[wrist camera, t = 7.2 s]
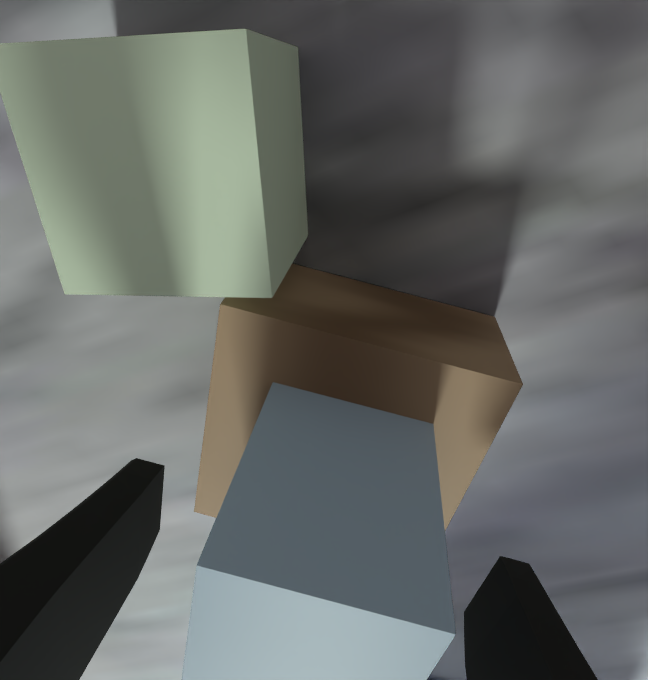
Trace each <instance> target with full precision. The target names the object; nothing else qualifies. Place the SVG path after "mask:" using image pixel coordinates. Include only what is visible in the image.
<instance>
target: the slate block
mask: <svg viewBox="0 0 648 680" xmlns="http://www.w3.org/2000/svg"><path fill="white" fill-rule="evenodd" d="M455 635H456V631H455V622H454V612H453V603H452V594H451V584H450V575H449V566H448V556H447V547H446V537H445V528H444V519H443V509H442V500H441V491H440V481H439V472H438V462H437V453H436V444H435V434H434V425H433V424H431V423H428V422H424V421H420V420H416V419H412V418H408V417H405V416H401V415H397V414H393V413H389V412H386V411H382V410H378V409H374V408H370V407H366V406H363V405H359V404H355V403H351V402H347V401H343V400H340V399H336V398H332V397H328V396H324V395H320V394H317V393H313V392H309V391H305V390H301V389H297V388H294V387H290V386H286V385H282V384H278V383H274V382H273V383H272V385H271V388H270V390H269V392H268V395H267V397H266V400H265V402H264V404H263V407H262V409H261V412H260V414H259V416H258V419H257V421H256V424H255V426H254V429H253V431H252V433H251V436H250V438H249V441H248V443H247V445H246V448H245V450H244V453H243V455H242V457H241V460H240V462H239V465H238V467H237V469H236V472H235V474H234V477H233V479H232V482H231V484H230V486H229V489H228V491H227V494H226V496H225V498H224V501H223V503H222V506H221V508H220V510H219V513H218V515H217V518H216V520H215V523H214V525H213V527H212V530H211V532H210V535H209V537H208V539H207V542H206V544H205V547H204V549H203V551H202V554H201V556H200V559H199V561H198V563H197V567H196V574H195V582H194V590H193V597H192V605H191V612H190V620H189V627H188V635H187V642H186V650H185V657H184V665H183V672H182V680H427V678H428V677H429V675H430V674H431V672H432V671H433V669H434V668H435V666H436V664H437V663H438V661H439V660H440V658H441V657H442V655H443V654H444V652H445V651H446V649H447V647H448V646H449V644H450V643H451V641H452V640H453V638H454V637H455Z"/></svg>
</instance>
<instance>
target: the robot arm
mask: <svg viewBox="0 0 648 680" xmlns="http://www.w3.org/2000/svg"><path fill="white" fill-rule="evenodd" d="M163 479H164V465H160V464H156V463H152V462H149V461H145V460H141V459H137V458H136V459H134V460H132V461H130V462H129V463H128V464H127V465H126V466H125V467H123V468H122V469H121V470H120V471H119V472H118V473H116V474H115V475H114V476H113V477H112V478H111V479H109V480H108V481H107V482H106V483H105V484H103V485H102V486H101V487H100V488H99V489H97V490H96V491H95V492H94V493H93V494H91V495H90V496H89V497H88V498H87V499H85V500H84V501H83V502H82V503H80V504H79V505H78V506H77V507H75V508H74V509H73V510H72V511H70V512H69V513H68V514H66V515H65V516H64V517H63V518H61V519H60V520H59V521H57V522H56V523H55V524H53V525H52V526H51V527H50V528H48V529H47V530H46V531H44V532H43V533H42V534H41V535H39V536H38V537H37V538H35V539H34V540H32V541H31V542H30V543H28V544H27V545H26V546H24V547H23V548H21V549H20V550H19V551H17V552H16V553H14V554H13V555H12V556H10V557H9V558H7V559H6V560H5V561H3V562H2V563H0V680H79V679H80V677H81V676H82V674H83V672H84V671H85V669H86V667H87V665H88V664H89V662H90V660H91V658H92V657H93V655H94V653H95V652H96V650H97V648H98V646H99V645H100V643H101V641H102V640H103V638H104V636H105V634H106V633H107V631H108V629H109V627H110V626H111V624H112V622H113V621H114V619H115V617H116V615H117V614H118V612H119V610H120V608H121V607H122V605H123V603H124V602H125V600H126V598H127V596H128V595H129V593H130V591H131V589H132V588H133V586H134V584H135V582H136V581H137V579H138V577H139V575H140V572H141V570H142V568H143V566H144V564H145V562H146V559H147V557H148V555H149V553H150V551H151V548H152V546H153V544H154V541H155V539H156V537H157V535H158V532H159V530H160V519H161V505H162V492H163ZM464 644H465V668H466V676H467V680H598V679H597V678H596V676H595V674H594V673H593V671H592V669H591V668H590V666H589V665H588V663H587V661H586V660H585V658H584V656H583V655H582V653H581V651H580V650H579V648H578V646H577V645H576V643H575V641H574V640H573V638H572V636H571V634H570V633H569V631H568V629H567V628H566V626H565V624H564V623H563V621H562V619H561V617H560V616H559V614H558V612H557V611H556V609H555V607H554V605H553V604H552V602H551V600H550V598H549V597H548V595H547V593H546V592H545V590H544V588H543V586H542V585H541V583H540V581H539V580H538V578H537V576H536V574H535V573H534V571H533V569H532V568H531V566H530V564H528V563H525V562H521V561H517V560H513V559H510V558H506V557H502V556H500V557H499V559H498V560H497V562H496V563H495V565H494V567H493V568H492V570H491V571H490V573H489V574H488V576H487V577H486V579H485V580H484V582H483V584H482V585H481V587H480V588H479V590H478V591H477V593H476V594H475V596H474V597H473V599H472V601H471V602H470V604H469V605H468V607H467V608H466V610H465V611H464Z"/></svg>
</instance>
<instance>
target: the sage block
mask: <svg viewBox="0 0 648 680" xmlns="http://www.w3.org/2000/svg"><path fill="white" fill-rule="evenodd" d="M0 93H1V96H2V99H3V103H4V106H5V109H6V112H7V115H8V118H9V121H10V124H11V128H12V131H13V134H14V137H15V140H16V143H17V146H18V149H19V153H20V156H21V159H22V162H23V165H24V168H25V171H26V174H27V178H28V181H29V184H30V187H31V190H32V193H33V196H34V199H35V203H36V206H37V209H38V212H39V215H40V218H41V221H42V224H43V228H44V231H45V234H46V237H47V240H48V243H49V246H50V249H51V253H52V256H53V259H54V262H55V265H56V268H57V271H58V275H59V278H60V281H61V284H62V287H63V290H64V293H65V294H79V295H133V296H188V297H242V298H272V297H273V296H274V294H275V292H276V290H277V289H278V287H279V285H280V284H281V282H282V280H283V278H284V277H285V275H286V273H287V271H288V270H289V268H290V266H291V264H292V263H293V261H294V259H295V258H296V256H297V254H298V252H299V251H300V249H301V247H302V245H303V244H304V242H305V240H306V239H307V237H308V223H307V204H306V186H305V168H304V149H303V131H302V113H301V94H300V76H299V58H298V47H296V46H293V45H290V44H288V43H285V42H282V41H279V40H276V39H274V38H271V37H268V36H265V35H262V34H260V33H257V32H254V31H251V30H248V29H232V30H216V31H199V32H183V33H167V34H150V35H134V36H117V37H101V38H85V39H68V40H52V41H35V42H19V43H3V44H0Z"/></svg>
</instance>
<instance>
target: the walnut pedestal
mask: <svg viewBox="0 0 648 680" xmlns="http://www.w3.org/2000/svg"><path fill="white" fill-rule="evenodd" d="M273 382H274V383H278V384H282V385H286V386H290V387H294V388H297V389H301V390H305V391H309V392H313V393H317V394H320V395H324V396H328V397H332V398H336V399H340V400H343V401H347V402H351V403H355V404H359V405H363V406H366V407H370V408H374V409H378V410H382V411H386V412H389V413H393V414H397V415H401V416H405V417H408V418H412V419H416V420H420V421H424V422H428V423H431V424H433V425H434V434H435V444H436V453H437V462H438V472H439V481H440V491H441V500H442V509H443V519H444V528H445V530H446V528H447V526H448V524H449V522H450V521H451V519H452V517H453V515H454V513H455V511H456V509H457V507H458V506H459V504H460V502H461V500H462V498H463V496H464V494H465V492H466V490H467V489H468V487H469V485H470V483H471V481H472V479H473V477H474V475H475V474H476V472H477V470H478V468H479V466H480V464H481V462H482V460H483V459H484V457H485V455H486V453H487V451H488V449H489V447H490V445H491V444H492V442H493V440H494V438H495V436H496V434H497V432H498V430H499V429H500V427H501V425H502V423H503V421H504V419H505V417H506V415H507V413H508V412H509V410H510V408H511V406H512V404H513V402H514V400H515V398H516V397H517V395H518V393H519V391H520V389H521V387H522V385H523V383H522V381H521V378H520V376H519V374H518V371H517V369H516V366H515V364H514V362H513V359H512V357H511V354H510V352H509V350H508V347H507V345H506V342H505V340H504V338H503V335H502V333H501V330H500V328H499V326H498V323H497V321H496V318H495V317H493V316H490V315H486V314H482V313H478V312H474V311H471V310H467V309H463V308H459V307H456V306H452V305H448V304H444V303H440V302H437V301H433V300H429V299H425V298H421V297H418V296H414V295H410V294H406V293H402V292H399V291H395V290H391V289H387V288H383V287H380V286H376V285H372V284H368V283H364V282H361V281H357V280H353V279H349V278H345V277H342V276H338V275H334V274H330V273H327V272H323V271H319V270H315V269H311V268H308V267H304V266H300V265H296V264H291V266H290V268H289V270H288V271H287V273H286V275H285V277H284V278H283V280H282V282H281V284H280V285H279V287H278V289H277V290H276V292H275V294H274V296H273V297H272V298H242V297H226V298H225V299H224V300H223V301H222V303H221V304H220V310H219V318H218V326H217V334H216V342H215V350H214V358H213V366H212V374H211V382H210V390H209V397H208V405H207V413H206V421H205V429H204V437H203V445H202V453H201V461H200V469H199V477H198V485H197V493H196V500H195V508H194V512H197V513H201V514H204V515H208V516H212V517H216V518H217V515H218V513H219V510H220V508H221V506H222V503H223V501H224V498H225V496H226V494H227V491H228V489H229V486H230V484H231V482H232V479H233V477H234V474H235V472H236V469H237V467H238V465H239V462H240V460H241V457H242V455H243V453H244V450H245V448H246V445H247V443H248V441H249V438H250V436H251V433H252V431H253V429H254V426H255V424H256V421H257V419H258V416H259V414H260V412H261V409H262V407H263V404H264V402H265V400H266V397H267V395H268V392H269V390H270V388H271V385H272V383H273Z"/></svg>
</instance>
